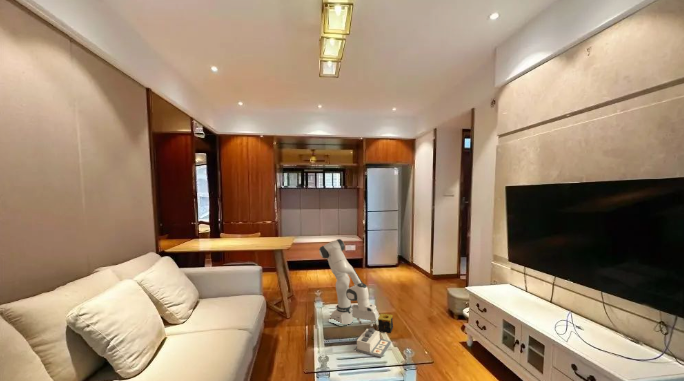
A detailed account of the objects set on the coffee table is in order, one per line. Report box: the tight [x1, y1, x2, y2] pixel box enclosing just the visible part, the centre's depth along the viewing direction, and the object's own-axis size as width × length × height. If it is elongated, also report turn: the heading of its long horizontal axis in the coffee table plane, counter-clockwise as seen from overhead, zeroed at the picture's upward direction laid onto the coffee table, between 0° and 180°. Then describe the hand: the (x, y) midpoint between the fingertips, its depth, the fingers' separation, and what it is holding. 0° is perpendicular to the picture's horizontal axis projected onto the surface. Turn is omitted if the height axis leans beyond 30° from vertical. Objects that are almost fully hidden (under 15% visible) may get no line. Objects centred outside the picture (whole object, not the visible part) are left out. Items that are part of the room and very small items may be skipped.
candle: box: [377, 313, 394, 334], centre depth 204 cm, size 10×10×10 cm
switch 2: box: [365, 331, 372, 338], centre depth 184 cm, size 4×4×6 cm
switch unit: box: [353, 328, 392, 359], centre depth 182 cm, size 20×19×7 cm
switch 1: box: [367, 327, 376, 334], centre depth 188 cm, size 4×4×6 cm
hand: (365, 324), depth 190 cm, fingers open, 8 cm apart
